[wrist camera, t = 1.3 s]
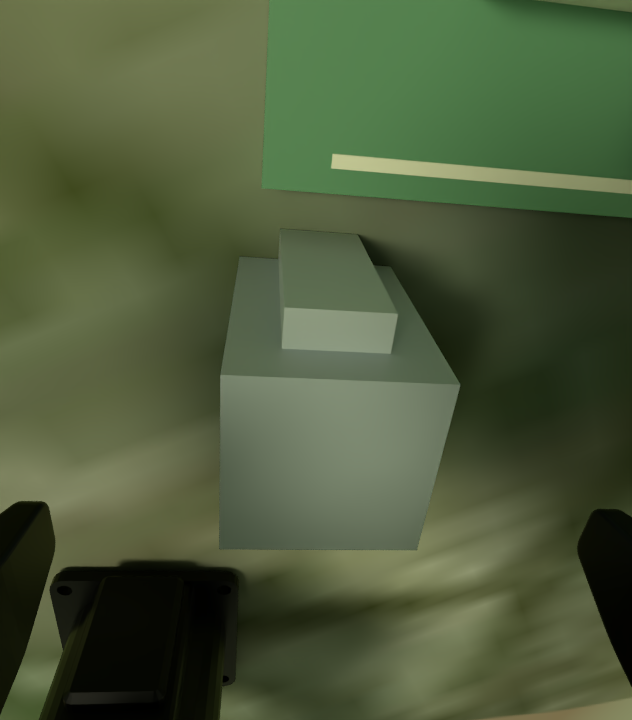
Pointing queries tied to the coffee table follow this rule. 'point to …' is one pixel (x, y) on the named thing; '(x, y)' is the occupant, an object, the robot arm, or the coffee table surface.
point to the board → (453, 102)
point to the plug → (328, 403)
